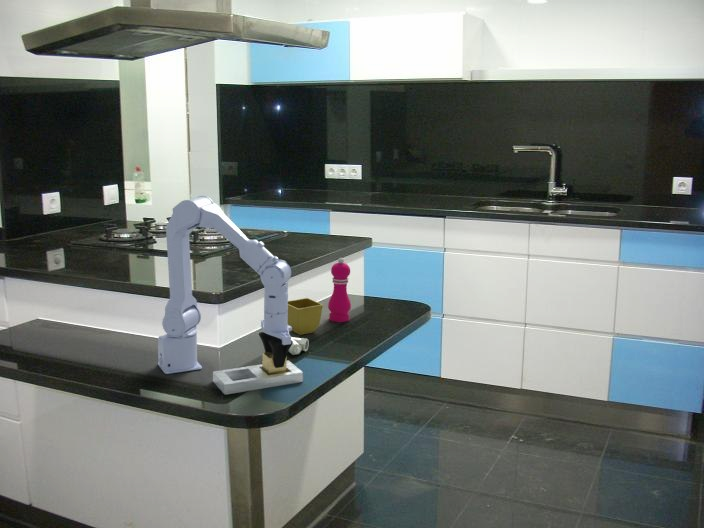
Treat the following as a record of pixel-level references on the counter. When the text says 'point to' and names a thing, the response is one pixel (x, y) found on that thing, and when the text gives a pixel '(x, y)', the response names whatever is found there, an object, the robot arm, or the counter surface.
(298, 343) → the pipe fitting
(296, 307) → the flower pot
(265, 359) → the wooden block
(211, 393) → the counter surface
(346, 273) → the pepper mill
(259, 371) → the white block holder tray
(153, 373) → the counter surface
